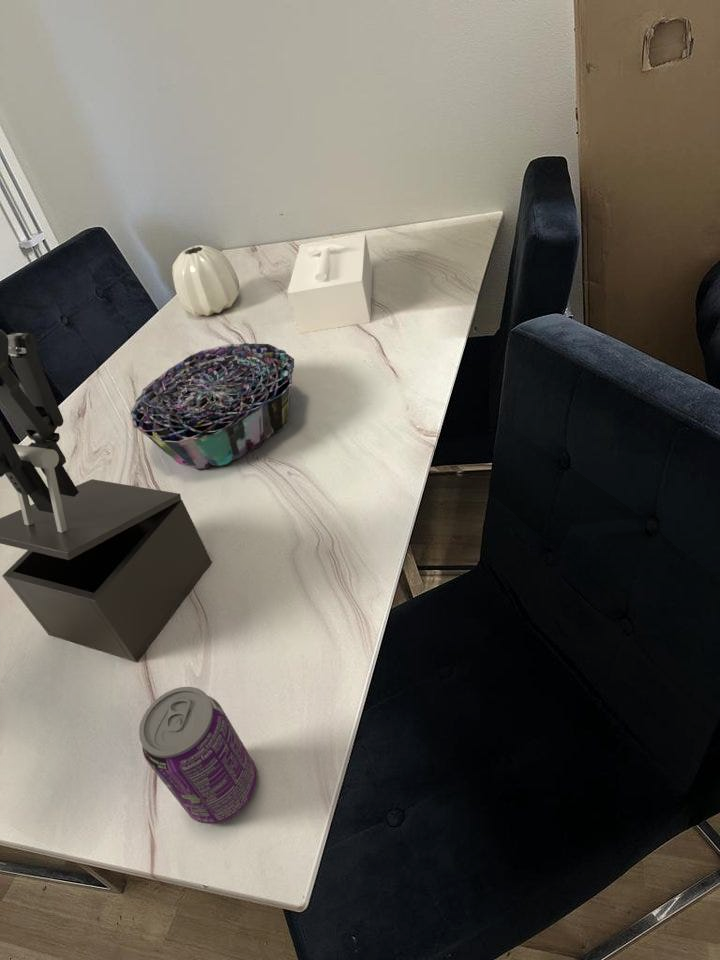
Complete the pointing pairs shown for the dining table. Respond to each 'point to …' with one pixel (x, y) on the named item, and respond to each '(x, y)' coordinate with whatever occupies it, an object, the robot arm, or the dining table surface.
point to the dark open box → (115, 584)
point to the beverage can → (198, 754)
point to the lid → (77, 512)
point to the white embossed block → (331, 284)
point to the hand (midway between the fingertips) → (58, 500)
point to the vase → (204, 280)
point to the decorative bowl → (217, 403)
